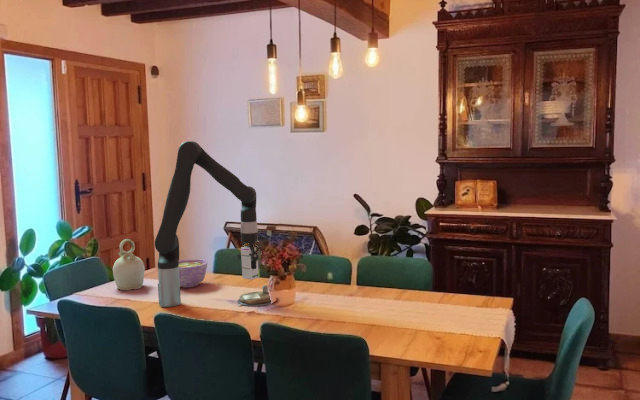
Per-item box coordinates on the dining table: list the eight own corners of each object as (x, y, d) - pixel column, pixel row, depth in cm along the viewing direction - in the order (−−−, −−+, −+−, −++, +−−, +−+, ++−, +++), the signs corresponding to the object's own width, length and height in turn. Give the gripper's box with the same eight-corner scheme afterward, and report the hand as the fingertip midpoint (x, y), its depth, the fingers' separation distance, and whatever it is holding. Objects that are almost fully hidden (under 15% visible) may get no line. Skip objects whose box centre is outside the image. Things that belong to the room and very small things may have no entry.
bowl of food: (161, 289, 300) (159, 266, 299) (181, 280, 319) (180, 258, 318) (196, 291, 295) (195, 268, 293) (215, 281, 314) (214, 259, 312)
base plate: (242, 309, 262) (242, 307, 262) (229, 299, 278) (229, 298, 278) (283, 302, 271) (283, 301, 271) (268, 293, 287) (268, 292, 287)
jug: (112, 286, 310) (109, 238, 308) (143, 282, 317) (140, 235, 314) (115, 293, 297) (112, 243, 294) (148, 288, 303) (144, 239, 300)
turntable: (232, 301, 272) (232, 290, 272) (254, 292, 286) (254, 283, 285) (260, 305, 264) (260, 295, 263) (281, 296, 277) (281, 286, 277)
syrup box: (251, 280, 267) (250, 247, 266) (242, 278, 271) (240, 246, 269) (260, 277, 272) (259, 245, 270) (250, 275, 275) (249, 244, 274)
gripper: (262, 232, 264) (264, 269, 266) (251, 228, 277) (253, 263, 279) (246, 234, 261) (248, 271, 263) (236, 230, 274) (237, 265, 276)
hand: (250, 267), depth 271 cm, fingers closed on syrup box, 7 cm apart
